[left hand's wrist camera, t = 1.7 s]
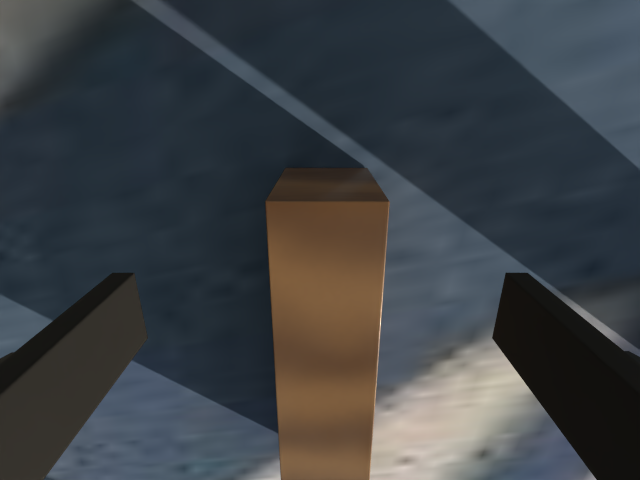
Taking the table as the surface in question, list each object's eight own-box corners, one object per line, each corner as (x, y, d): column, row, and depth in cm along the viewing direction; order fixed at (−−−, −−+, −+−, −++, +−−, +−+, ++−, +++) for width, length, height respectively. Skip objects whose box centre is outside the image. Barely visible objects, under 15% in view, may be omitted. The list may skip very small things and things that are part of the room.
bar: (285, 167, 22) (264, 201, 14) (367, 167, 22) (390, 201, 14) (294, 442, 30) (285, 553, 23) (354, 443, 30) (364, 554, 23)
